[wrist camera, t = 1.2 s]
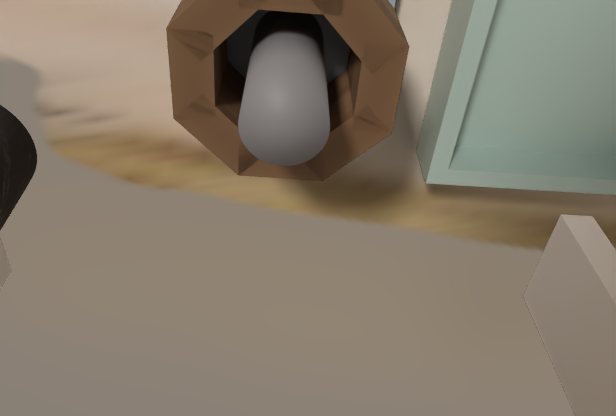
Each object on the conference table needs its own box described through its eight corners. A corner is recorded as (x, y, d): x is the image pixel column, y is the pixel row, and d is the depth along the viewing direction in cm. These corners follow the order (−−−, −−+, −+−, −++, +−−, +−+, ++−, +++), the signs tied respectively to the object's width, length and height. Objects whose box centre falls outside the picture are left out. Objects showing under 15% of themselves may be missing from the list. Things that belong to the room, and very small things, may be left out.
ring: (182, -78, 19) (159, -50, 16) (404, -58, 20) (424, -27, 17) (193, 120, 24) (178, 171, 21) (371, 132, 25) (381, 184, 22)
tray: (487, -147, 23) (511, -138, 21) (798, -117, 24) (858, -104, 21) (415, 150, 32) (425, 183, 30) (641, 165, 33) (669, 198, 31)
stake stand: (182, -135, 23) (89, -66, 13) (411, -113, 24) (492, -32, 14) (193, 81, 30) (136, 240, 19) (375, 94, 30) (413, 255, 20)
